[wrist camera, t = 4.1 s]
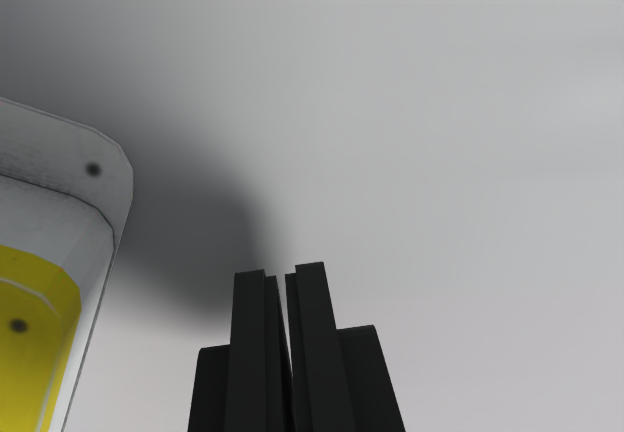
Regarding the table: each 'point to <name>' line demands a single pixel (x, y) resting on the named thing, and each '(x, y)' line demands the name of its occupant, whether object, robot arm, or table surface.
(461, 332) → the table surface
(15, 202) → the emergency button
